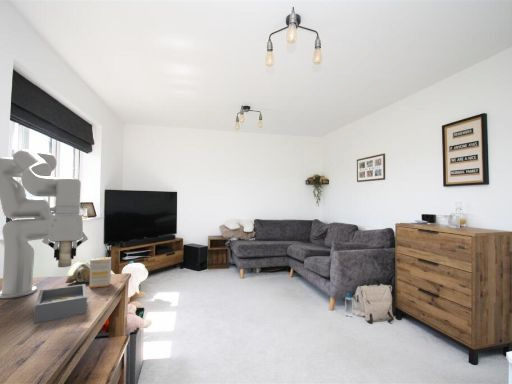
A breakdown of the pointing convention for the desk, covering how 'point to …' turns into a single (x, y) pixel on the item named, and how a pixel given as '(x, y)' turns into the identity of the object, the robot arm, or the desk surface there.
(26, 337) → the desk surface
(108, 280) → the supplement box
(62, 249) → the peg
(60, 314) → the bore box
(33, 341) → the desk surface
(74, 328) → the desk surface
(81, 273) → the ceramic sculpture
